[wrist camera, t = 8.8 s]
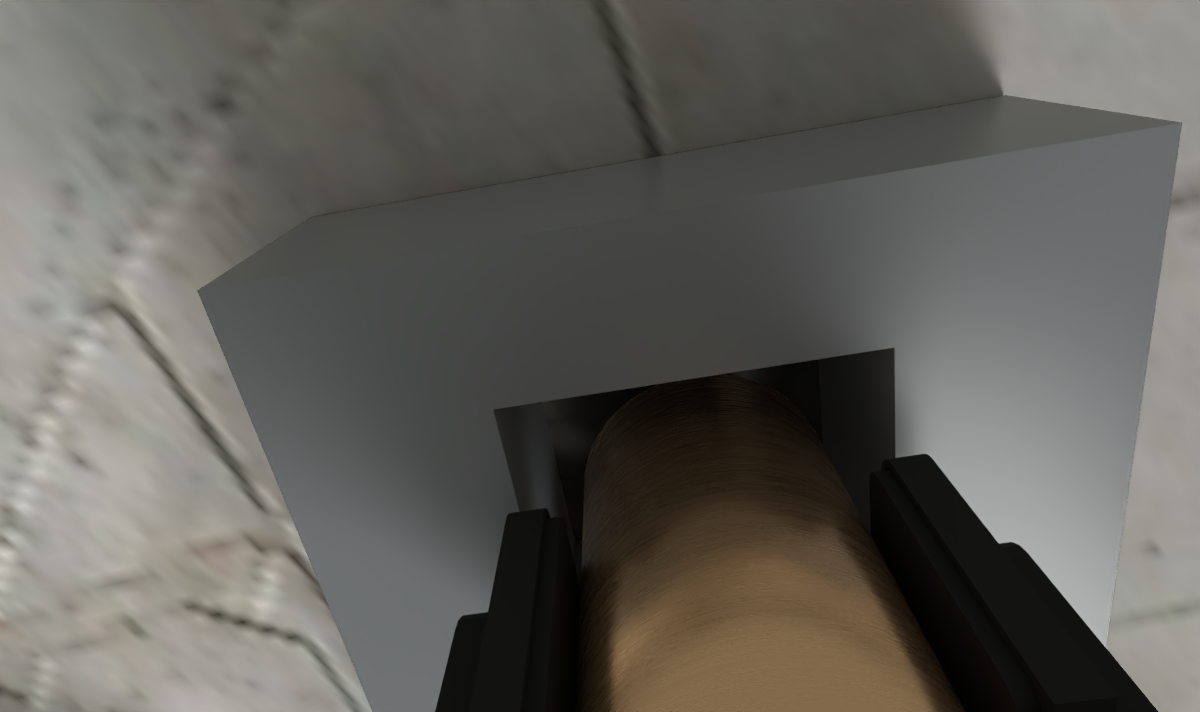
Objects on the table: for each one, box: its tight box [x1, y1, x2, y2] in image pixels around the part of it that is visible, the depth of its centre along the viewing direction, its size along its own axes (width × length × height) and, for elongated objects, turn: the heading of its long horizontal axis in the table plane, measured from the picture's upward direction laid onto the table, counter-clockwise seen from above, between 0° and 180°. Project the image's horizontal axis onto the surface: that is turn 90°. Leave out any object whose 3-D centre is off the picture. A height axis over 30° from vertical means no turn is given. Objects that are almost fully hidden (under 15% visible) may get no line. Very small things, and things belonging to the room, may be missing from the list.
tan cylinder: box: [576, 375, 966, 712], centre depth 9 cm, size 4×4×8 cm
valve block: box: [197, 95, 1182, 712], centre depth 14 cm, size 12×18×4 cm, turn 10°
